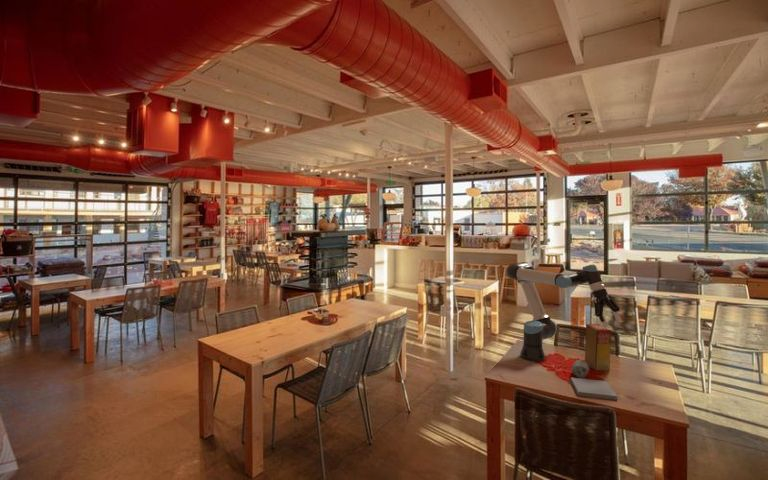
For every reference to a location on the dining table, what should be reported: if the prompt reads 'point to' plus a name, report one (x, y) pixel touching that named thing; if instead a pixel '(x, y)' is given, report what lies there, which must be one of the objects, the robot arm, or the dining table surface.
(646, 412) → the dining table surface
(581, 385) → the plate
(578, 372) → the spool
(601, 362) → the food packaging
